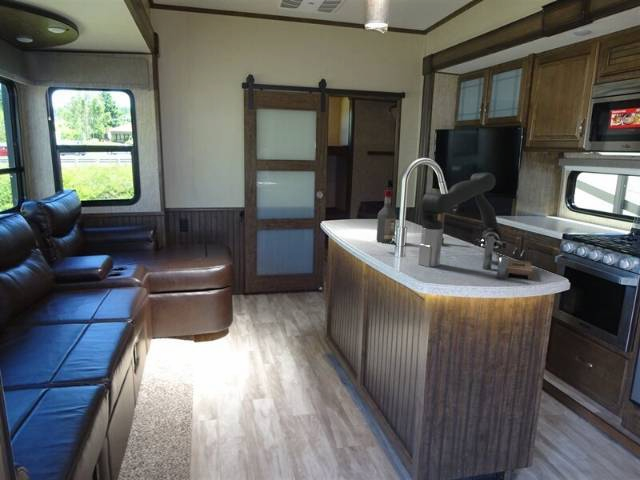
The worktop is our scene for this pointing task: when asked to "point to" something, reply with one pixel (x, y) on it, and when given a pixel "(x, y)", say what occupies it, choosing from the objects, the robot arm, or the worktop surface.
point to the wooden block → (441, 218)
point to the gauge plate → (519, 268)
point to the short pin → (502, 268)
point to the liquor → (386, 221)
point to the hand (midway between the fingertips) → (489, 245)
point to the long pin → (488, 252)
